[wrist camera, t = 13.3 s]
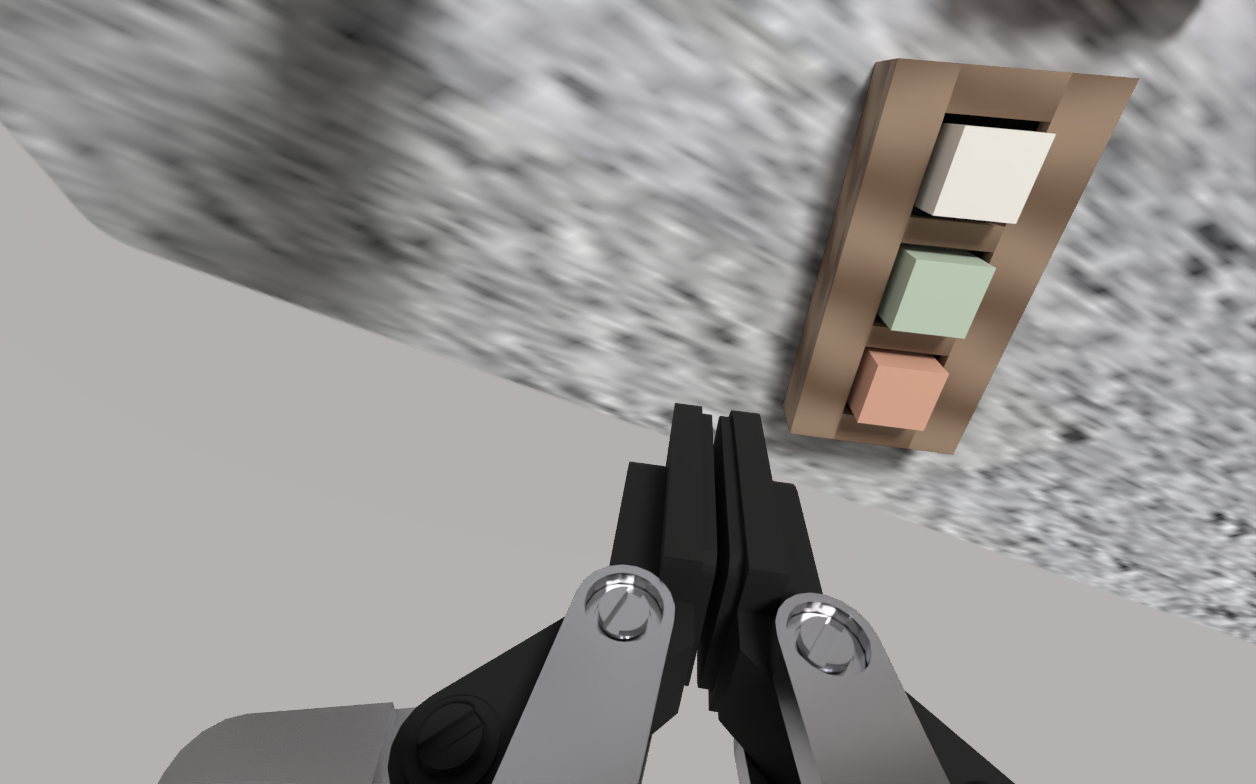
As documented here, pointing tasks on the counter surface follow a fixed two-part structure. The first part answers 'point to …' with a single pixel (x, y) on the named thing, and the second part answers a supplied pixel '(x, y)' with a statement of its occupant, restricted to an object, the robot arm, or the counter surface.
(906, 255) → the sage key
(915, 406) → the terracotta key
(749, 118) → the counter surface
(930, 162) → the cream cube
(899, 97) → the wooden compartment tray
